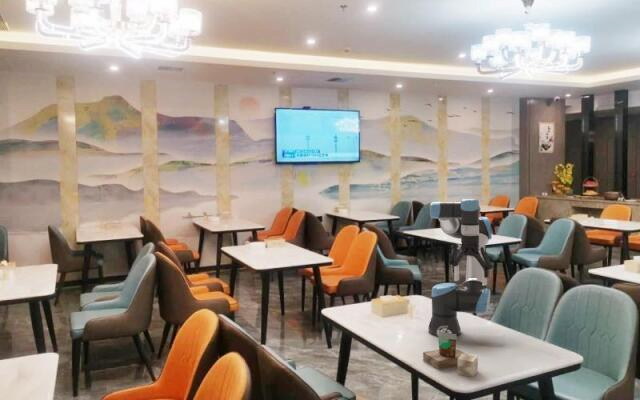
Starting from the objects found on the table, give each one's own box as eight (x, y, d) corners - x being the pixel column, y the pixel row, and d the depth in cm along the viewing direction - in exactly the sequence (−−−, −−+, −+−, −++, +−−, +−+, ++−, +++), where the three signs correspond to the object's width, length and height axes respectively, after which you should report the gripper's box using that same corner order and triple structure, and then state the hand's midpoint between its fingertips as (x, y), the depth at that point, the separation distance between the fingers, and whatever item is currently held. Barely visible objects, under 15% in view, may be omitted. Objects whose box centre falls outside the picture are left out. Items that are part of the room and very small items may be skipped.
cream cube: (457, 374, 202) (457, 358, 202) (462, 368, 207) (462, 353, 207) (473, 377, 199) (473, 361, 199) (477, 371, 204) (477, 356, 204)
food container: (432, 348, 220) (433, 325, 220) (447, 348, 221) (447, 325, 220) (441, 359, 208) (441, 334, 207) (456, 359, 208) (456, 334, 208)
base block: (423, 361, 217) (423, 352, 217) (453, 356, 223) (453, 346, 222) (438, 371, 207) (438, 361, 207) (469, 365, 212) (469, 355, 212)
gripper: (440, 233, 234) (441, 280, 236) (492, 237, 216) (492, 288, 218) (449, 231, 240) (450, 277, 241) (501, 235, 222) (501, 285, 223)
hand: (470, 282), depth 229 cm, fingers open, 13 cm apart
